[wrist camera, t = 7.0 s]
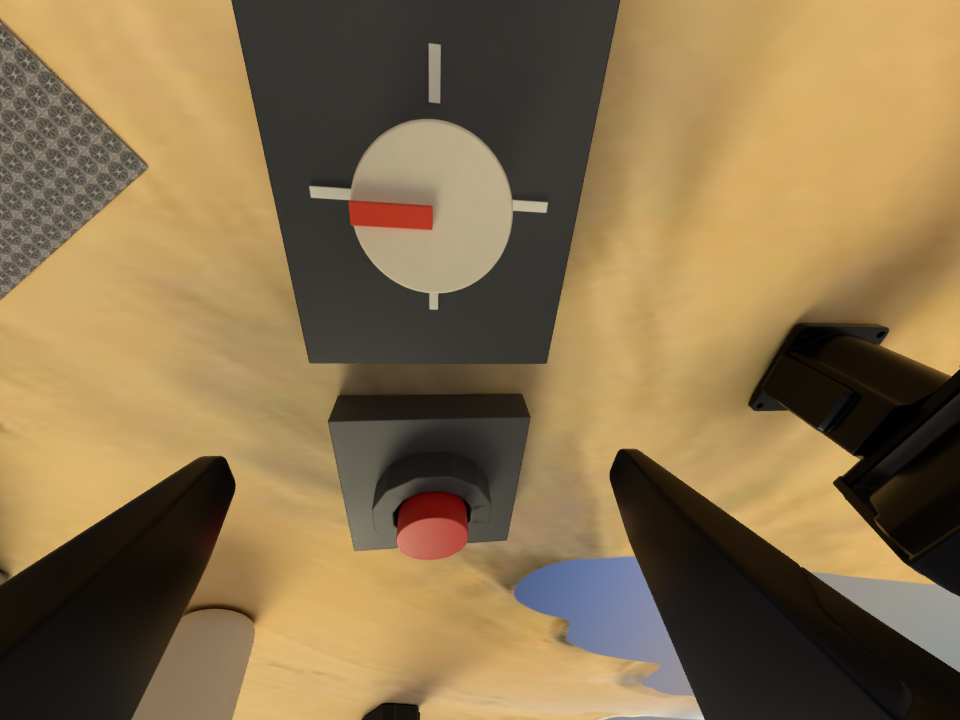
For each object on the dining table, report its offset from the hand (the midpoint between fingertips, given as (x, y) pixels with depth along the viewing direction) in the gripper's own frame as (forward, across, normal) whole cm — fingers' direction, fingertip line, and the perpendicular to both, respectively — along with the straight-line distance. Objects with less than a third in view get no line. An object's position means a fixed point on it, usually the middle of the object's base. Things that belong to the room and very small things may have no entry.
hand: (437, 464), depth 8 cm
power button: (+7, 0, +12) cm, 14 cm away
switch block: (+11, 0, +12) cm, 16 cm away
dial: (+8, 0, -5) cm, 9 cm away
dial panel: (+11, 0, -5) cm, 12 cm away
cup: (+11, +20, +32) cm, 40 cm away
